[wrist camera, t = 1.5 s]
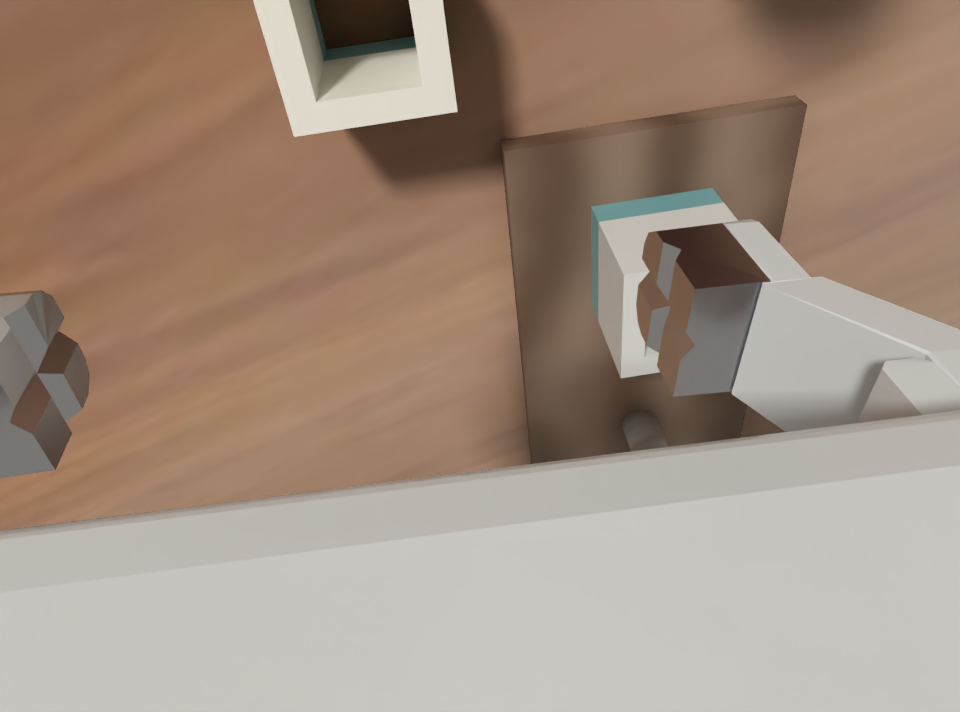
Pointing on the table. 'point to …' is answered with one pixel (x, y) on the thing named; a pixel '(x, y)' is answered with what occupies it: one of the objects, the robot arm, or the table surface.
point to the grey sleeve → (637, 264)
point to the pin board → (568, 265)
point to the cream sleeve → (357, 69)
